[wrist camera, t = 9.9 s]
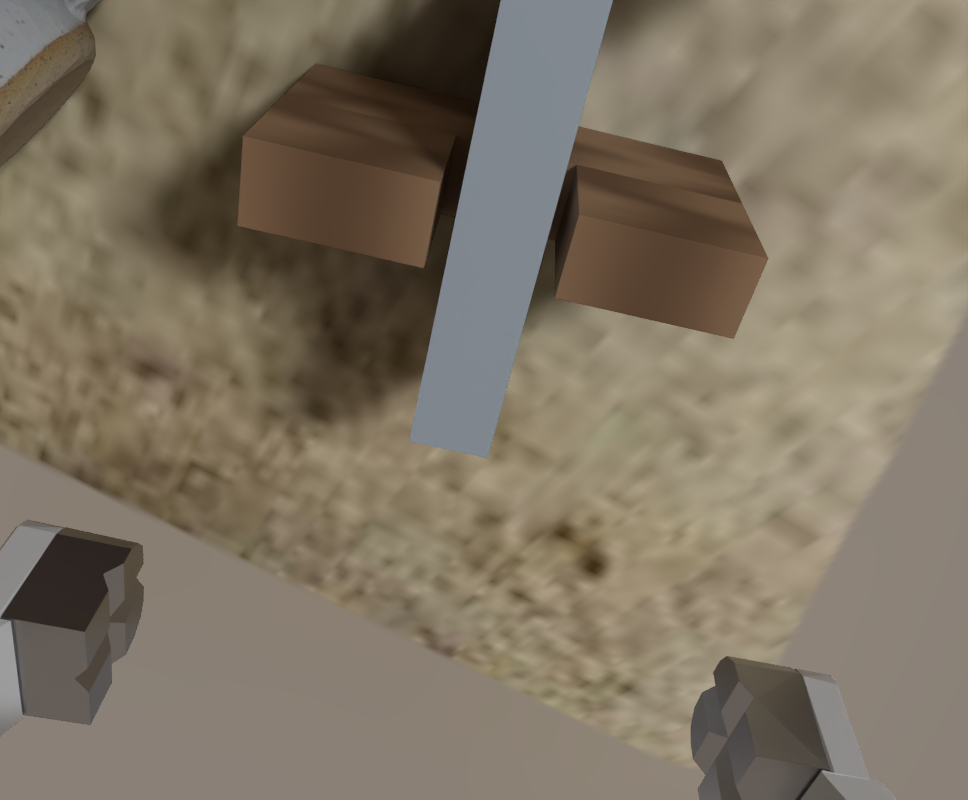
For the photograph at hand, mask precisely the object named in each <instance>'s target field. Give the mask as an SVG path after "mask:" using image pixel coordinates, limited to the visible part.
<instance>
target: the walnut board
mask: <svg viewBox="0 0 968 800" xmlns="http://www.w3.org/2000/svg"><path fill="white" fill-rule="evenodd" d="M478 107H479V103H478V102H473V101H469V100H465V99H461V98H457V97H452V96H448V95H444V94H440V93H436V92H432V91H427V90H423V89H419V88H415V87H411V86H407V85H402V84H398V83H394V82H390V81H386V80H381V79H377V78H373V77H369V76H365V75H361V74H356V73H352V72H348V71H344V70H340V69H335V68H331V67H327V66H323V65H319V64H315V65H314V66H313V67H312V68H311V69H310V70H309V71H308V72H307V73H306V74H305V75H304V76H303V77H302V78H301V79H300V80H299V81H298V82H297V83H296V84H295V85H294V86H293V87H292V88H291V89H290V90H289V91H288V92H287V93H286V94H285V95H284V96H283V97H282V98H281V99H280V100H279V101H278V102H277V103H276V104H275V105H274V106H273V107H272V108H271V109H270V110H268V111H267V112H266V113H265V114H264V115H263V116H262V117H261V118H260V119H259V120H258V121H257V122H256V123H255V124H254V125H253V126H252V127H251V128H250V129H249V130H248V131H247V132H246V133H245V134H244V135H243V143H242V159H241V176H240V192H239V209H238V226H240V227H245V228H249V229H254V230H258V231H262V232H267V233H271V234H276V235H280V236H284V237H289V238H293V239H298V240H302V241H306V242H311V243H315V244H320V245H324V246H328V247H333V248H337V249H341V250H346V251H350V252H355V253H359V254H363V255H368V256H372V257H377V258H381V259H385V260H390V261H394V262H399V263H403V264H407V265H412V266H416V267H421V268H424V266H425V263H426V259H427V256H428V253H429V250H430V246H431V243H432V240H433V236H434V233H435V230H436V227H437V223H438V220H439V217H440V214H443V215H447V216H452V217H456V213H457V208H458V204H459V199H460V194H461V189H462V184H463V179H464V175H465V170H466V165H467V160H468V155H469V151H470V146H471V141H472V136H473V131H474V127H475V122H476V117H477V112H478ZM548 239H551V240H555V241H556V242H555V298H557V299H561V300H566V301H570V302H574V303H579V304H583V305H588V306H592V307H596V308H601V309H605V310H610V311H614V312H618V313H623V314H627V315H632V316H636V317H640V318H645V319H649V320H654V321H658V322H662V323H667V324H671V325H676V326H680V327H684V328H689V329H693V330H697V331H702V332H706V333H711V334H715V335H719V336H724V337H728V338H733V339H734V337H735V334H736V332H737V330H738V327H739V325H740V323H741V320H742V318H743V316H744V314H745V311H746V309H747V307H748V304H749V302H750V300H751V297H752V295H753V293H754V290H755V288H756V286H757V283H758V281H759V279H760V277H761V274H762V272H763V270H764V267H765V265H766V263H767V260H768V257H767V255H766V253H765V251H764V249H763V246H762V244H761V242H760V240H759V238H758V236H757V234H756V232H755V230H754V228H753V225H752V223H751V221H750V219H749V217H748V215H747V213H746V211H745V209H744V206H743V204H742V202H741V200H740V198H739V196H738V194H737V192H736V190H735V188H734V185H733V183H732V181H731V179H730V177H729V175H728V173H727V171H726V169H725V167H724V164H723V162H722V161H720V160H716V159H712V158H707V157H703V156H699V155H695V154H691V153H687V152H682V151H678V150H674V149H670V148H666V147H661V146H657V145H653V144H649V143H645V142H641V141H636V140H632V139H628V138H624V137H620V136H615V135H611V134H607V133H603V132H599V131H595V130H590V129H586V128H582V127H578V130H577V133H576V137H575V140H574V144H573V148H572V151H571V155H570V159H569V162H568V166H567V170H566V173H565V177H564V181H563V184H562V188H561V192H560V195H559V199H558V202H557V206H556V210H555V213H554V217H553V221H552V224H551V228H550V232H549V235H548Z"/></svg>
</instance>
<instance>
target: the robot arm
mask: <svg viewBox="0 0 968 800" xmlns="http://www.w3.org/2000/svg"><path fill="white" fill-rule="evenodd" d="M142 565H143V546H142V545H140V544H139V543H135V542H130V541H125V540H121V539H116V538H112V537H107V536H103V535H98V534H93V533H89V532H84V531H80V530H75V529H70V528H66V527H65V528H64V527H59V526H54V525H50V524H45V523H40V522H35V521H31V520H26V521H25V522H23V523H22V524H20V525H19V526H17V527H16V528H15V529H14V531H13V532H12V533H11V535H10V536H9V537H8V539H7V540H6V542H5V543H4V544H3V546H2V547H1V548H0V736H1V735H2V734H4V733H5V732H6V731H8V730H9V729H10V728H12V727H13V726H14V725H16V724H17V723H18V722H20V721H21V720H22V719H23V715H27V716H34V717H41V718H47V719H55V720H61V721H68V722H74V723H81V724H88V725H91V723H92V721H93V719H94V717H95V715H96V713H97V711H98V709H99V707H100V705H101V703H102V701H103V699H104V697H105V695H106V693H107V691H108V689H109V687H110V685H111V683H112V663H113V662H115V661H116V660H118V659H120V658H121V657H123V656H124V655H126V653H127V651H128V649H129V647H130V644H131V643H132V640H133V638H134V636H135V633H136V630H137V626H138V623H139V620H140V617H141V612H142V606H143V594H144V592H143V590H144V587H143V586H142V584H141V583H140V582H139V581H138V579H137V578H136V577H137V575H138V573H139V571H140V569H141V567H142ZM713 674H714V679H715V684H716V686H714V687H712V688H710V689H708V690H706V691H704V692H702V694H701V696H700V698H699V700H698V702H697V704H696V706H695V708H694V713H693V718H692V723H691V748H692V755H693V760H694V761H695V762H696V763H697V765H698V766H699V767H700V769H701V770H702V771H703V772H704V774H705V775H706V776H705V777H704V779H703V781H702V783H701V784H700V786H699V788H698V792H699V799H700V800H897V799H896V798H895V797H894V796H893V795H892V793H891V792H890V791H888V789H887V788H886V787H885V786H884V785H883V784H882V783H881V782H880V781H876V780H871V779H870V778H869V775H868V772H867V770H866V767H865V764H864V761H863V758H862V755H861V752H860V749H859V746H858V743H857V740H856V738H855V735H854V732H853V729H852V726H851V723H850V721H849V718H848V715H847V712H846V709H845V706H844V703H843V700H842V697H841V694H840V692H839V689H838V686H837V683H836V681H835V680H834V679H833V678H832V677H831V676H830V675H827V674H821V673H816V672H811V671H805V670H800V669H792V668H791V667H785V666H779V665H774V664H768V663H763V662H757V661H752V660H746V659H741V658H735V657H730V656H726V657H725V658H723V659H722V660H721V661H720V662H719V664H718V665H717V667H716V669H715V670H714V672H713Z"/></svg>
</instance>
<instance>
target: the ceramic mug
mask: <svg viewBox="0 0 968 800" xmlns="http://www.w3.org/2000/svg"><path fill="white" fill-rule="evenodd" d="M100 1H101V0H0V167H1V166H2V165H3V164H4V163H5V162H6V161H7V160H8V159H10V158H11V157H12V156H13V155H14V154H15V153H16V152H17V151H18V150H19V149H20V148H21V147H22V146H23V145H24V144H25V143H26V142H27V141H28V140H29V139H30V138H31V137H32V136H33V135H34V134H35V133H36V132H37V131H38V130H39V129H40V128H41V127H42V126H43V125H44V124H45V123H46V122H47V121H48V120H49V119H50V118H51V117H52V116H53V115H54V114H55V113H56V112H57V111H58V109H59V108H60V107H61V106H62V105H63V104H64V102H65V101H66V100H67V99H68V98H69V97H70V95H71V94H72V93H73V92H74V91H75V89H76V88H77V87H78V85H79V84H80V83H81V81H82V80H83V79H84V77H85V76H86V74H87V73H88V71H89V70H90V68H91V66H92V64H93V62H94V59H95V56H96V50H95V38H94V35H93V33H92V30H91V29H90V27H89V26H88V24H87V22H86V13H88V12H89V11H90V10H91V9H92V8H93V7H94V6H95V5H96V4H97V3H98V2H100Z"/></svg>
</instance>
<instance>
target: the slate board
mask: <svg viewBox="0 0 968 800" xmlns="http://www.w3.org/2000/svg"><path fill="white" fill-rule="evenodd" d="M612 2H613V0H501V1H500V6H499V11H498V16H497V21H496V25H495V30H494V35H493V40H492V45H491V50H490V54H489V59H488V64H487V69H486V74H485V78H484V83H483V88H482V93H481V98H480V102H479V107H478V112H477V117H476V122H475V127H474V131H473V136H472V141H471V146H470V151H469V155H468V160H467V165H466V170H465V175H464V179H463V184H462V189H461V194H460V199H459V204H458V208H457V213H456V218H455V223H454V228H453V232H452V237H451V242H450V247H449V252H448V256H447V261H446V266H445V271H444V276H443V281H442V285H441V290H440V295H439V300H438V305H437V309H436V314H435V319H434V324H433V329H432V333H431V338H430V343H429V348H428V353H427V358H426V362H425V367H424V372H423V377H422V382H421V386H420V391H419V396H418V401H417V406H416V410H415V415H414V420H413V425H412V430H411V435H410V439H409V441H411V442H415V443H420V444H424V445H429V446H434V447H438V448H443V449H448V450H452V451H457V452H461V453H466V454H471V455H475V456H480V457H485V458H488V454H489V451H490V447H491V443H492V440H493V436H494V432H495V429H496V425H497V421H498V418H499V414H500V410H501V407H502V403H503V399H504V396H505V392H506V389H507V385H508V381H509V378H510V374H511V370H512V367H513V363H514V359H515V356H516V352H517V348H518V345H519V341H520V337H521V334H522V330H523V327H524V323H525V319H526V316H527V312H528V308H529V305H530V301H531V297H532V294H533V290H534V286H535V283H536V279H537V275H538V272H539V268H540V265H541V261H542V257H543V254H544V250H545V246H546V243H547V239H548V235H549V232H550V228H551V224H552V221H553V217H554V213H555V210H556V206H557V202H558V199H559V195H560V192H561V188H562V184H563V181H564V177H565V173H566V170H567V166H568V162H569V159H570V155H571V151H572V148H573V144H574V140H575V137H576V133H577V130H578V126H579V122H580V119H581V115H582V111H583V108H584V104H585V100H586V97H587V93H588V89H589V86H590V82H591V78H592V75H593V71H594V67H595V64H596V60H597V57H598V53H599V49H600V46H601V42H602V38H603V35H604V31H605V27H606V24H607V20H608V16H609V13H610V9H611V5H612Z"/></svg>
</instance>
